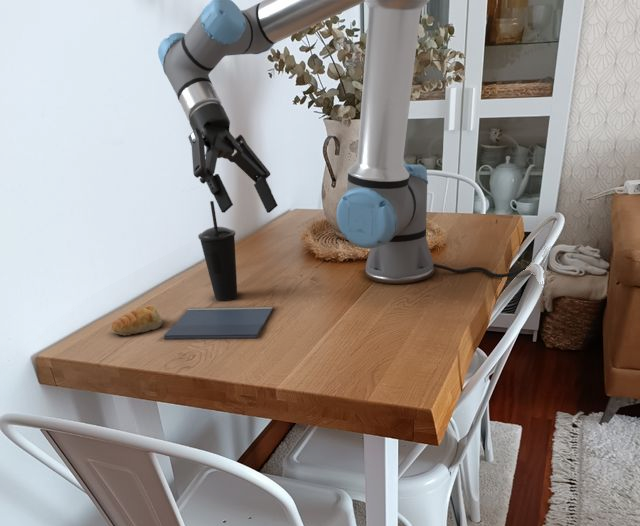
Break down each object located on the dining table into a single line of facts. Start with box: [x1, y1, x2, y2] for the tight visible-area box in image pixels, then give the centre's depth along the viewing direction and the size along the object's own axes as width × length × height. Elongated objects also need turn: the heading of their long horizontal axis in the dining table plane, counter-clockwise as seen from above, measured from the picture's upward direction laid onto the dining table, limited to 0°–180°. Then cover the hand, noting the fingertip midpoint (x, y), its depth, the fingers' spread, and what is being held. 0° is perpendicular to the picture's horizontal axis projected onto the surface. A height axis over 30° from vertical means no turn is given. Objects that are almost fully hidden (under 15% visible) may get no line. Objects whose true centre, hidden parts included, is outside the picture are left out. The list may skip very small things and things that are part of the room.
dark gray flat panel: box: [163, 306, 274, 340], centre depth 121 cm, size 18×15×1 cm
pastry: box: [111, 304, 163, 336], centre depth 121 cm, size 9×7×4 cm
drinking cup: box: [197, 200, 238, 302], centre depth 129 cm, size 8×8×20 cm
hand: (251, 209), depth 124 cm, fingers open, 13 cm apart
